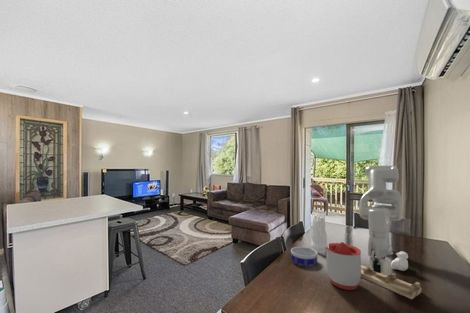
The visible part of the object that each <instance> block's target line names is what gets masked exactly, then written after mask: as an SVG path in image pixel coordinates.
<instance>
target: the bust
mask: <svg viewBox="0 0 470 313" xmlns="http://www.w3.org/2000/svg"><path fill="white" fill-rule="evenodd" d="M395 255H396V256H397V257H395V258H394V259H393V260H392V261H391V262H390V267H391V269H392V270H398V271H401V272H405V271H406V270H408V268H409V262H408V258H409V255H408V253H407V252H405V251H403V250H401V251H399V252H396V253H395Z"/></svg>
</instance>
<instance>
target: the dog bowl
mask: <svg viewBox="0 0 470 313" xmlns="http://www.w3.org/2000/svg"><path fill="white" fill-rule="evenodd" d="M290 259H291V262H292V263H293V264H295V265H298V266H301V267H314V266H316V265H317V264H318V253H317V252H316V251H315V250H313V249H311V247H306V246H295V247H292V248H291V249H290Z"/></svg>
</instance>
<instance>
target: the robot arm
mask: <svg viewBox="0 0 470 313" xmlns="http://www.w3.org/2000/svg"><path fill="white" fill-rule="evenodd" d="M364 170H365V171H364V172H365V174H366V176H367V178H368V190H367V191H366V192H364V193H363V194H362V196H361V197H360V199H359V206H358V208H359V209H358V213H359V217H360V218H361V219H362V220H365V221H367V220H368V244H367V254H368V256H369V261H370V260H372V261H373V270H374V271H375V272H378V273H381V265H379V264H380V258H382V259H386V257H387V256H388V257H389V256H392V255H393V254H394V252H393V251H392V250H391V248H392V244H390V241H391V240H390V226H389V224H388V223H387V222H389V221H395V222H397V221H401V220H402V219H403V218H402V217H403V206H402V196H401V192H399V190H396V189H387V183H391V184H392V183H394V184H395V183H397V182H399V179H400V174H399V169H398V167H397V166H396V165H368V166H366V167H365V169H364ZM371 200H372V202H373V203H376V204H373V205H366V204H367V202H368V201H371ZM370 256H371V258H370ZM375 256H376V257H375ZM376 259H377V260H376Z"/></svg>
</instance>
